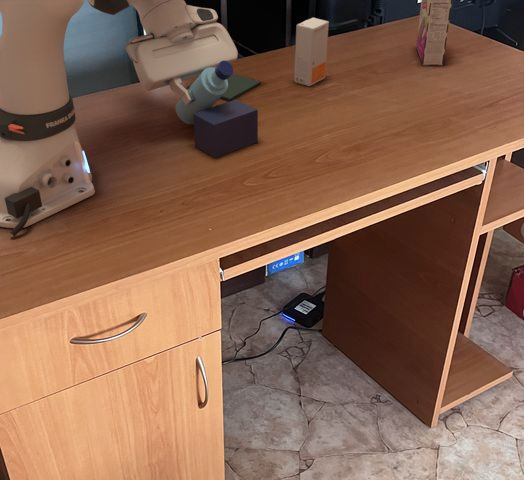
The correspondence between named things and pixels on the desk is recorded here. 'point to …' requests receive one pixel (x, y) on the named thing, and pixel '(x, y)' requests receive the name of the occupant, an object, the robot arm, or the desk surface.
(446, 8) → the candy bar box
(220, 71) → the plastic bottle
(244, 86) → the rubber mat
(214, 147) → the navy block
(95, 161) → the desk surface
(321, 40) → the cosmetic box
